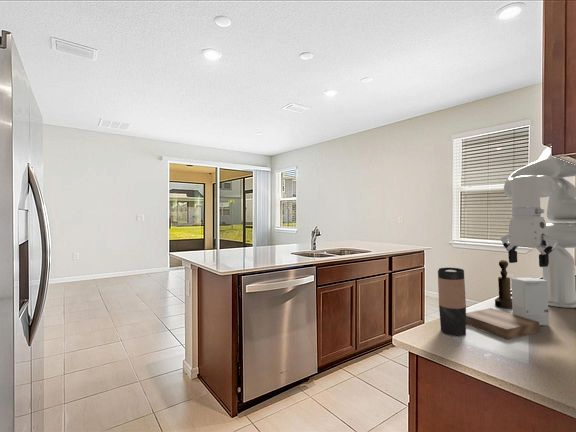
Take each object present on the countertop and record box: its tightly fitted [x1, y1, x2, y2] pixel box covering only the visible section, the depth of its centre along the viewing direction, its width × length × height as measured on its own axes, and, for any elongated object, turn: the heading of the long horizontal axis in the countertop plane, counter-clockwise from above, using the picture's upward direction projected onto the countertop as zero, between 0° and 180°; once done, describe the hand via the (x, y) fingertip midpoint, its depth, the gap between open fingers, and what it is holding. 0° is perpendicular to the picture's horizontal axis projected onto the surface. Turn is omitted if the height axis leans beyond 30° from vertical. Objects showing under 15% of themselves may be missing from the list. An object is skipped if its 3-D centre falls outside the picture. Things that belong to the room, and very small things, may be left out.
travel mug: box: [437, 267, 467, 337], centre depth 101 cm, size 8×8×20 cm
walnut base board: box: [466, 307, 541, 340], centre depth 103 cm, size 14×16×3 cm
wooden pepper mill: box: [494, 259, 512, 309], centre depth 123 cm, size 7×6×18 cm
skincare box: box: [510, 277, 550, 326], centre depth 105 cm, size 8×6×15 cm
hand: (527, 264), depth 105 cm, fingers open, 9 cm apart
